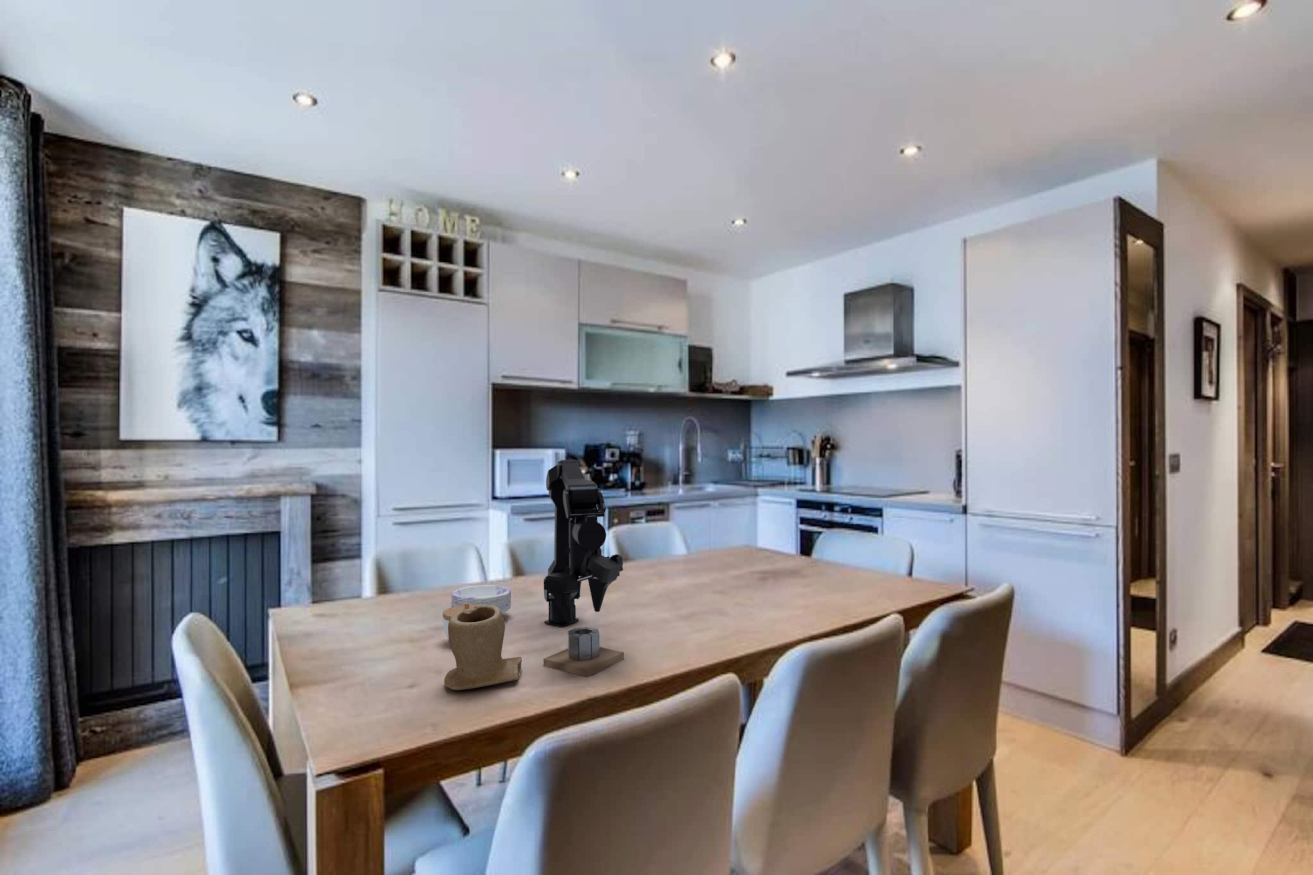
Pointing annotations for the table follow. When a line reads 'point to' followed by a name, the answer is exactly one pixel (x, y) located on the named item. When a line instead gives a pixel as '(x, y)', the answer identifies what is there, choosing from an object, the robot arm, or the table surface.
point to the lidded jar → (451, 611)
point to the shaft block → (583, 662)
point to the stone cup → (479, 649)
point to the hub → (583, 643)
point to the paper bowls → (483, 596)
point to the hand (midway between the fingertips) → (583, 616)
